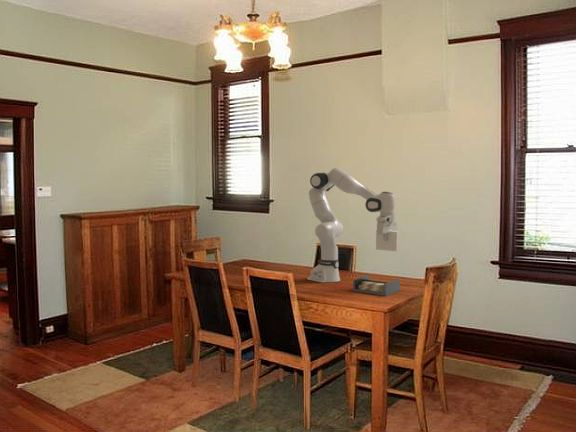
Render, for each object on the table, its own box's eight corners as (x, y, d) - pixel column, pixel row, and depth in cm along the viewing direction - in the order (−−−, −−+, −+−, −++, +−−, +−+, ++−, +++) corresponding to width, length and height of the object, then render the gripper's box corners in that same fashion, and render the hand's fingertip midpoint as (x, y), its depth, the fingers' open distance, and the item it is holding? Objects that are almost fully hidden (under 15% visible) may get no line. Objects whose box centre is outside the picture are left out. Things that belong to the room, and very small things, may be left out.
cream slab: (376, 249, 338) (376, 230, 337) (378, 248, 341) (378, 229, 340) (396, 251, 330) (396, 231, 329) (398, 250, 332) (398, 231, 331)
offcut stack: (358, 288, 324) (358, 282, 323) (363, 287, 328) (363, 280, 328) (382, 292, 314) (382, 285, 314) (387, 290, 318) (387, 284, 318)
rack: (352, 291, 324) (353, 279, 324) (367, 286, 338) (367, 275, 338) (386, 296, 311) (386, 284, 310) (400, 290, 325) (400, 279, 325)
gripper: (390, 216, 344) (390, 238, 345) (375, 218, 328) (374, 241, 329) (399, 217, 340) (399, 239, 341) (384, 219, 324) (384, 242, 325)
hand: (387, 240), depth 335 cm, fingers closed on cream slab, 3 cm apart
